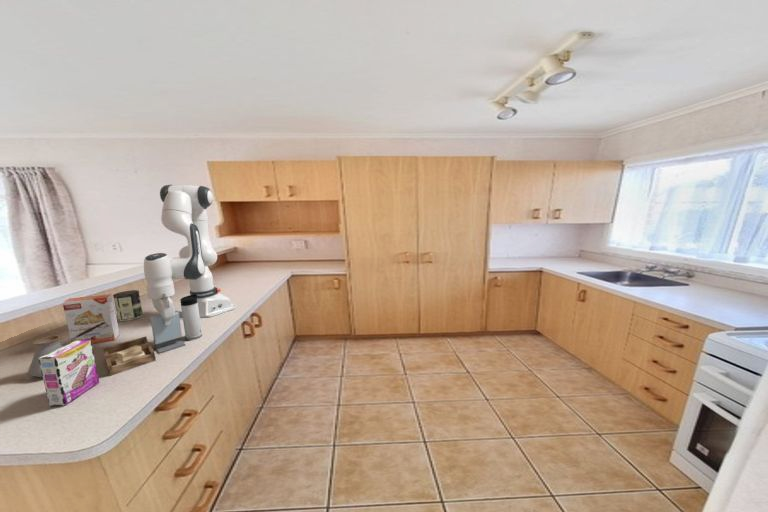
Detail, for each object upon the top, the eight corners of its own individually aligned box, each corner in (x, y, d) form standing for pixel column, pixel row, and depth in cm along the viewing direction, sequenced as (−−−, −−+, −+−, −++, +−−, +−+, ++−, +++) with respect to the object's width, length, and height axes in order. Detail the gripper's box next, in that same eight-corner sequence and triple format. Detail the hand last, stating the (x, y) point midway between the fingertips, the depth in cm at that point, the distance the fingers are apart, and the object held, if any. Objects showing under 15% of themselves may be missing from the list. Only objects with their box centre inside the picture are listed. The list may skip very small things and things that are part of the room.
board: (179, 333, 122) (176, 311, 120) (182, 336, 119) (178, 313, 117) (154, 341, 115) (150, 317, 113) (156, 344, 112) (152, 319, 110)
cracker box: (71, 348, 116) (60, 302, 112) (79, 341, 121) (69, 297, 117) (115, 340, 122) (106, 297, 118) (120, 335, 127) (112, 293, 123)
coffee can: (139, 312, 154) (135, 288, 152) (146, 316, 149) (141, 292, 146) (115, 318, 146) (110, 293, 143) (121, 323, 140) (116, 297, 138)
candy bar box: (66, 406, 82) (54, 357, 79) (49, 407, 82) (36, 358, 79) (101, 382, 93) (91, 339, 90) (85, 383, 93) (75, 339, 90)
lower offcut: (144, 358, 108) (142, 350, 108) (146, 362, 106) (145, 354, 105) (116, 367, 102) (115, 359, 101) (118, 371, 100) (116, 363, 99)
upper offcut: (137, 352, 107) (135, 345, 106) (142, 353, 106) (141, 346, 105) (118, 360, 101) (116, 352, 101) (123, 361, 100) (122, 354, 100)
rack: (147, 346, 117) (146, 336, 116) (155, 360, 107) (153, 348, 106) (105, 359, 107) (103, 348, 106) (109, 375, 97) (107, 363, 96)
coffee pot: (26, 385, 92) (14, 345, 89) (34, 370, 100) (24, 333, 97) (113, 361, 106) (106, 325, 103) (114, 349, 114) (107, 317, 111)
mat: (179, 338, 124) (179, 337, 124) (185, 345, 118) (185, 344, 118) (154, 345, 118) (154, 344, 118) (159, 353, 111) (159, 352, 111)
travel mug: (205, 335, 127) (200, 295, 123) (191, 341, 121) (185, 299, 118) (197, 332, 130) (192, 293, 126) (182, 338, 124) (176, 297, 120)
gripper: (177, 295, 109) (181, 327, 111) (165, 285, 122) (169, 314, 124) (157, 299, 104) (162, 332, 107) (147, 288, 117) (151, 318, 120)
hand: (166, 322), depth 116 cm, fingers closed on board, 4 cm apart
